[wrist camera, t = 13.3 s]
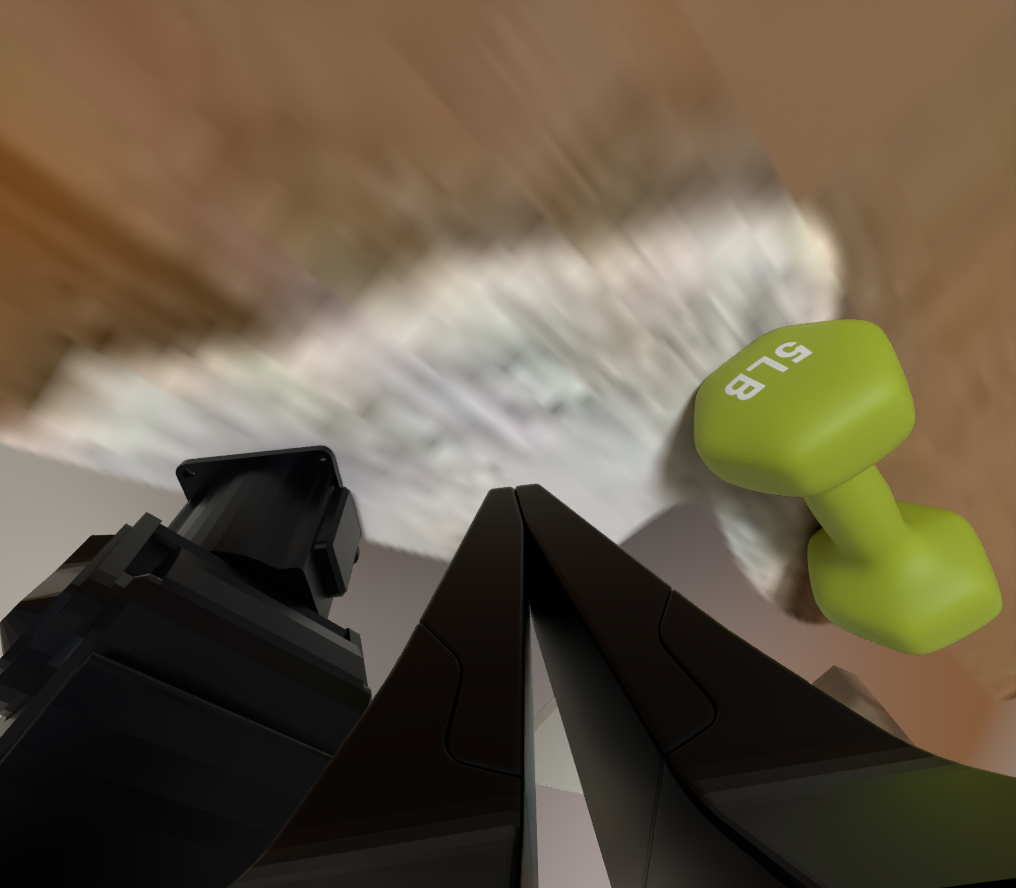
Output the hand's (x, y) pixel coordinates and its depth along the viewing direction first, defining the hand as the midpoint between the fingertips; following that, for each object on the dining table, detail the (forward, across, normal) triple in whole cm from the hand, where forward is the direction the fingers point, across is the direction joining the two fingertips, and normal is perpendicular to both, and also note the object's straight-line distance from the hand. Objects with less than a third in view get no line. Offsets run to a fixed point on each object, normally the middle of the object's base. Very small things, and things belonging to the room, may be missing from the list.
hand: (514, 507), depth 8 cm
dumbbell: (+13, -16, +9) cm, 22 cm away
